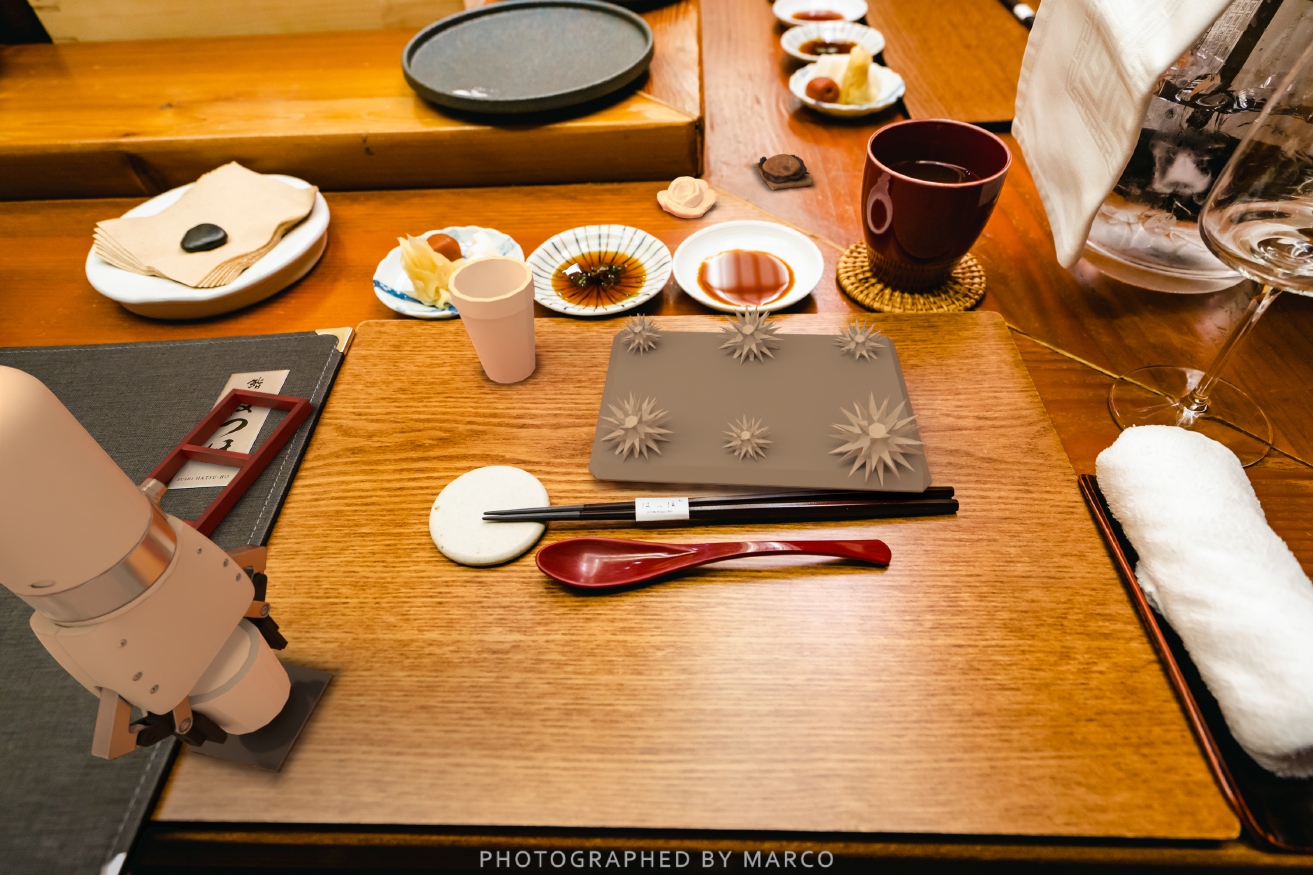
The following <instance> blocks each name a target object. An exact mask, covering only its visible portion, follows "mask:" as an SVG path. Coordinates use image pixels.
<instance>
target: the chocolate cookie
mask: <svg viewBox="0 0 1313 875" xmlns="http://www.w3.org/2000/svg"><path fill="white" fill-rule="evenodd" d="M755 168H756V170H757V171H758V174H760V176H761V179H762V180H763V181H764V182H765V184H767V185H768V187H769V188H770V189H771V190H777V189H784V188H785V189H786V188H791V187H794V188H797V187H798V188H799V187H804V186H813V180H812V179H811V177H810V176H809V175H811V173H810V172H809V171H807V170H808V167H807V166H806V165H805V162H804V160H803V159H802V158H800V157H799V156H798V155H796V154H787V153H779V154H775V155H772V156H770V157H769V158H767V157H766V156H764V155H763V156H761V157H760V158H759V162H757V163H755Z"/></svg>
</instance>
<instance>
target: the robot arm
mask: <svg viewBox="0 0 1313 875" xmlns="http://www.w3.org/2000/svg"><path fill="white" fill-rule="evenodd" d="M167 491H168V488H167V486H166V484H165V485H164V484H162V483H161V482H159V481H158V480H156V479H153V478H147V479H146V480H145V481H144V482H143V483H142V484H141V485H140V486H139V484H137V485H136V484H135V483H134V481H132V480H131V478H130V477H129V476H128V475H127V474H126V473H125V472H124V471H123V469H121V467H120V466H119V465H118V464H117V463H116V462H115V461H114V459H112V457H111V456H110V455H109V454H108V453H107V452H106V451H105V450H104V448H103V447H102V446H101V445H100V444H99V443H98V442H97V441H96V440H95V438H94V437H93V436H92V435H91V434H90V433H89V432H88V431H87V429H86V428H84V426H83V425H82V424H81V423H80V422H79V420H78V419H77V418H76V417H75V416H74V415H73V414H72V413H71V412H70V410H69V409H68V408H67V407H66V406H65V405H64V403H63V402H61V400H59V398H58V397H57V396H56V395H55V394H54V393H53V392H52V391H51V390H50V389H49V388H48V387H47V386H46V385H45V384H44V383H43V382H42V381H41V380H39V379H38V378H37V377H35V376H34V375H31V374H29V373H27V372H25V371H23V370H21V369H19V368H15V367H12V366H11V367H10V366H6V365H1V364H0V584H1V585H2V586H4V587H5V588H7V589H8V591H10V592H11V593H13V594H14V595H15V596H17V597H18V598H19V599H21V600H22V601H23V602H24V603H26V604H27V605H29V606H30V607H31V608H32V609H34V610H35V611H34V612H33V613H32V614H31V616H30V618H29V626H30V628H31V630H32V631H33V633H34V635H35V636H36V638H37V639H38V640H39V642H40V643H41V645H42V646H43V647H44V648H45V650H46V651H47V652H48V653H49V654H50V655H51V657H53V658H54V660H55V661H56V662H57V663H58V664H59V665H60V666H61V667H62V668H63V669H64V670H65V671H66V672H67V673H68V674H69V675H70V676H71V677H72V678H74V679H75V680H76V681H77V682H78V683H79V684H80V685H81V686H82V687H83V688H85V689H86V690H87V691H89V692H90V694H92V695H94V696H95V697H97V698H98V699H99V704H98V709H97V715H96V720H95V721H96V722H95V727H94V733H93V738H92V745H91V752H90V753H91V756H92V757H96V758H100V759H103V760H107V761H115V760H117V759H119V758H121V757H124V756H127V755H128V754H129V755H130V754H131V753H133V752H135V751H136V750H137V749H140V748H141V747H143V748H149V747H151V746H153V745H155V744H157V743H160V742H161V741H163V740H166V739H167V738H169V737H172V736H173V737H175V738H176V739H177V740H178V741H180V742H181V743H183V744H186V745H188V746H189V745H192V746H196V747H201V746H202V745H203V743H204V742H205V740H207V741H211V742H215V743H219V744H224V743H225V741H226V740H227V738H228V736H227V734H228V733H227V732H226V731H224V730H223V729H222V728H221V727H219V726H218V725H217V724H216V723H214V722H213V721H212V720H211V719H209V718H208V717H207V716H206V715H204V714H201V713H197V712H193V711H191V706H190V701H189V696H188V693H189V692H190V691H191V690H192V688H193V687H194V685H195V684H196V683H197V681H198V680H199V679H200V677H201V676H202V675H203V673H204V672H205V670H206V669H207V668H208V666H209V665H210V663H211V662H212V661H213V659H214V658H215V656H216V655H217V654H218V652H219V651H220V649H221V648H222V647H223V645H224V644H225V642H226V641H227V639H228V638H229V637H230V635H231V634H232V632H233V631H234V629H235V628H236V626H237V625H238V624H239V622H240V621H241V619H242V618H246V619H247V620H249V621H250V622H251V623H252V624H253V625H255V626H256V627H257V628H258V630H259V631H260V633H261V634H262V636H263V637H264V639H265V641H266V642H267V644H268V645H269V647H270V648H271V650H276V651H282V650H285V649H286V647H287V645H288V644H289V642H288V640H287V639H286V638H285V637H284V636H283V634H281V632H280V631H279V630H280V626H279V624H278V623H277V622H276V621H275V619H273V618H272V616H271V615H270V612H271V607H272V605H271V603H270V602H267V601H266V597H267V588H268V578H269V577H268V575H267V574H266V573H265V571H266V569H267V559H268V549H267V547H266V546H264V545H258V544H253V543H248V544H245V545H242V546H238V547H235V548H231V549H228V550H225V551H224V550H223V549H222V548H221V547H220V546H219V545H217V544H216V543H215V542H214V541H212V540H211V539H209V537H205V536H204V535H202V534H201V533H200V532H198V531H197V530H195V529H194V528H193V527H191V526H189V525H188V524H186V523H185V522H183V521H182V520H183V519H181V518H179V517H176V516H174V515H172V514H170V513H166V512H164V510H163V509H162V508H161V507H160V502H161V501H162V497H163V496H164V494H166V492H167ZM180 519H181V520H180ZM134 706H135V707H137V708H139V709H140V712H141V718H139V719H137V720H134V721H132V722H131V719H132V714H133V707H134Z"/></svg>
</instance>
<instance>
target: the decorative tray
mask: <svg viewBox="0 0 1313 875" xmlns="http://www.w3.org/2000/svg"><path fill="white" fill-rule="evenodd" d="M733 309H734V312H735V314H736V318H737V321H738V322H737V321H735V320H734V319H732V318H730V317H729V316H727V315H726V314H724V316H725V318H726V320H727V321H728V322H729V323H730V324H731V326H732V327H733V328H731V327H725V326H720V325H719V326H718V327H719V328H721V329H722V330H721V331H681V330H678V331H677V330H676V331H675V330H674V331H673V330H661V329H662V327H660V326H661V324H658V325H656V324H657V323H658V321H656V322H654V320H655V318H653V315H651V316H650V317H647V318H645V314H643V315H642V316H641V315H640V314H637V317H636V318H637V319H635V318H633V317H632V316H631V315H629V317H630V320H631V323H632V324H631V323H630V322H628V321H626V320H625V319H623V320H624V322H625V324H626V327H621V326H619V329H621V330H620V331H619V332H617V333H616V334H614V336H613V339H612V345H611V349H610V354H609V361H608V365H607V370H606V375H605V379H604V380H605V381H604V386H603V391H602V396H601V402H600V406H599V411H598V417H597V422H596V426H595V432H594V436H593V437H594V438H593V444H592V446H591V447H592V448H591V453H590V458H589V463H588V468H587V469H588V472H589V473H590V474H591V475H592V476H593V477H594V478H595V479H596V480H597V481H611V482H612V481H614V482H635V483H636V482H637V483H639V482H641V483H663V484H664V483H666V484H688V485H689V484H690V485H691V484H692V485H718V486H719V485H720V486H741V487H742V486H745V487H746V486H747V487H748V486H749V487H770V488H771V487H772V488H794V489H795V488H796V489H824V490H848V491H849V490H850V491H851V490H852V491H872V492H873V491H875V492H876V491H877V492H903V493H924V491H925V490H927V488H928V487H930V486H931V485H932V484H933V479H932V475H931V471H930V468H929V464H928V461H927V460H928V459H927V457H926V453H925V450H924V446H923V445H928V443H927V442H924V441H922V439H921V435H920V431H919V428H921V427H923V426H924V424H921V425H918V423H917V420H916V418H917V417H918V416H919V415H920V413H917V414H916V415H915V413H914V409H913V406H912V402H911V399H910V395H909V392H908V387H907V384H906V381H905V377H904V373H903V370H902V366H901V362H900V359H899V355H898V352H897V347H896V343H895V342H894V341H893V340H892V339H891V338H890V337H889V336H888V335H881V332H882V331H883V329H881V330H878V331H876V332H873V333H872V331H873V328H874V326H875V325H876V322H874V323H873V324H872V325H871V326H870V327H869V328H868V329H867V321H868V320H867V319H868V318H866V319H865V320H864V323H863V325H862V327H861V329H860V325H859V322H858V318H856V317H855V318H856V319H855V322H854V323H855V324H854V325H851V324H850V322H849V321H847V324H848V326H846V329H847V331H846V330H845V329H843V328H841V327H840V326H839V327H838V328H839V332H840V333H841V334H821V333H819V334H818V333H817V334H816V333H815V334H814V333H775V332H776V331H777V330H779V329H782V326H778V327H774V326H775V325H777V324H778V322H775V321H776V320H777V319H778V317H776V318H773V319H772V320H770V321H767V319H768V317H769V315H770V313H771V311H769V309H770V308H768V309H767V310H766V311H765V312H764V313H763V315H762V316H761V317H760V318H759V314H760V311H758V305H756V307H755V309H754V310H753V309H752V311H751V313H750V312H749V308H748V306H747V304H745V313H744V315H745V316H744V317H743V316H742V314H741V313H740V312H739V311H738V310H737V308H733ZM766 321H767V322H766ZM653 322H654V323H653ZM774 322H775V323H774ZM627 327H628V328H627ZM866 329H867V330H866Z"/></svg>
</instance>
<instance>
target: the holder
mask: <svg viewBox="0 0 1313 875" xmlns="http://www.w3.org/2000/svg"><path fill="white" fill-rule="evenodd" d="M241 405H247V406H254V407H260V408H267V409H275V410H279V411H287V412H288V414H287V415H286V416H285V417H284V418H283V420H281V422H280V423H279V424H278V425H277V426H276V428H275V429H274V430H273V431H272V432H271V434H270V435H269V436H268V437H267V438H266V439H265V440H264V442H263V443H262V444H261V445H260V446H259V447H258V449H256V451H255V452H254V453H253V454H252V453H247V452H246V453H245V452H238V451H233V450H227V449H221V448H213V447H208V446H203V445H204V444H205V443H206V442H207V441H208V440H209V439H210V438H211V437H212V436H213V434H215V432H216V431H218V429H219V428H220V427H221V426H222V425H223V424H224V423H225V422H226V421H227V420H228V419H229V418H230V417H231V416H232V415H233V413H235V412H236V410H238V408H239V407H240V406H241ZM313 411H314V408H313V406H312V404H311V403H310V401H309V398H304V397H297V396H291V395H286V394H285V395H284V394H276V393H270V392H263V391H257V390H251V389H250V390H249V389H243V388H242V389H241V388H235V387H234V388H232V389H231V390H230V391H229V392H228V393H227V394H226V395H225V396H224V397H223V398H222V399H221V400H220V401H219V402H218V403H217V404H216V405H215V406H214V407H213V408H212V409H211V410H210V411H209V412H208V413H207V414H206V415H205V416H204V417H203V418H202V420H200V421H199V423H197V424H196V426H194V428H193V429H191V431H189V432H188V434H187V435H186V436H184V438H183V439H182V440H181V441H180V442H179V443H178V444H177V445H176V446H175V447H174V448H173V449H172V450H171V451H170V452H169V453H168V454H167V455H166V456H165V457H164V458H163V459H162V460H161V461H160V462H159V463H158V464H157V465H156V467H154V468H153V469H152V470H151V472H149V474H147V475H146V477H145V478H143V480H141V482H140V483H139V484H138V485H139V486H140V485H141V484H142V483H143V482H144V481H145V480H146V479H147V478H153V479H156V480H158V481H159V482H161V483H162V484H164V485H165V486H166V485H167V483H168V482H169V481H170V480H171V479H173V477H175V475H176V474H177V473H178V472H179V471H180V470H181V469H182V467H183V466H184V465H185V464H186V463H187V462H188V461H189V460H191V461H197V462H202V463H208V464H214V465H220V466H227V467H231V468H240V469H239V471H238V472H237V473H236V474H235V476H233V478H232V479H231V480H230V481H229V482H228V484H226V486H225V487H224V488H223V489H222V491H220V493H219V494H218V495H217V496H216V497H215V498H214V500H212V502H211V503H210V504H209V506H207V508H206V509H205V510H204V511H203V512H202V513H201V515H200V516H199V517H198V518H197V519H196V521H191V520H186V519H181V518H179V519H180V520H182V521H183V522H185V523H186V524H188V525H189V526H191V527H193V528H194V529H195V530H197V531H198V532H200V533H201V534H202V535H204V536H205V537H207V538H209V536H210V535H211V534H212V533H213V531H214V530H215V529H216V528H217V526H219V524H220V523H221V522H222V520H224V518H225V516H227V515H228V513H230V511H231V510H232V508H233V507H234V506H235V505H236V504H237V503H238V501H239V500H240V499H241V498H242V496H244V495H245V493H246V492H247V491H248V489H249V488H250V487H251V486H252V484H254V482H255V481H256V479H257V478H258V477H259V476H260V475H261V473H263V471H264V470H265V469H266V468H267V466H268V465H269V464H270V463H271V462H272V460H273V459H274V458H275V457H276V455H277V454H278V453H280V451H281V450H282V448H284V446H285V444H287V443H288V441H289V440H290V439H291V437H292V436H293V435H294V434H295V432H297V430H299V428H300V426H301V425H302V424H303V423H304V422H305V421H306V420H307V418H308V417H309V416H310V415H311V414H312V412H313Z"/></svg>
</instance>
